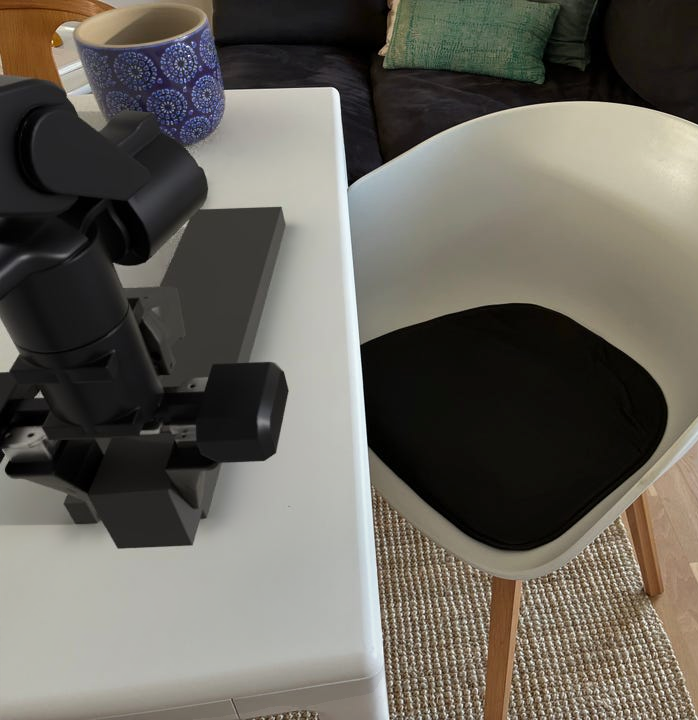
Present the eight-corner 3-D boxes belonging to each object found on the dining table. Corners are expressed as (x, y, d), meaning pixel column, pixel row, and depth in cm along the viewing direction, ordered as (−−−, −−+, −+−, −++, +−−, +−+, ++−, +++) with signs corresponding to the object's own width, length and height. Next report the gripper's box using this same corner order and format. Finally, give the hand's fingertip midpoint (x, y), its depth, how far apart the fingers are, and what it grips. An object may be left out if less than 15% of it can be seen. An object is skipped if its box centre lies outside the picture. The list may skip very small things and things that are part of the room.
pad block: (193, 545, 50) (168, 491, 46) (117, 549, 50) (86, 495, 46) (209, 486, 53) (188, 431, 49) (138, 489, 53) (111, 435, 49)
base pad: (207, 518, 59) (198, 498, 58) (74, 524, 59) (62, 503, 57) (285, 225, 90) (281, 206, 89) (199, 228, 90) (193, 209, 88)
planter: (219, 160, 102) (189, 45, 92) (93, 163, 102) (49, 49, 92) (245, 106, 114) (221, 0, 104) (132, 109, 114) (97, 3, 104)
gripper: (276, 226, 46) (317, 409, 57) (-42, 237, 46) (58, 420, 56) (242, 349, 38) (297, 538, 48) (-147, 364, 37) (-7, 551, 48)
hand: (159, 504), depth 50 cm, fingers closed on pad block, 5 cm apart
